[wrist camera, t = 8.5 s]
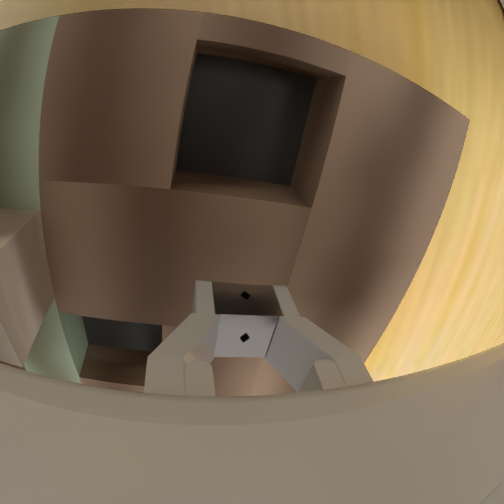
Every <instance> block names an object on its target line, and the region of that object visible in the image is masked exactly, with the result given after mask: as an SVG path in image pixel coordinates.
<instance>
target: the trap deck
mask: <svg viewBox="0 0 504 504" xmlns="http://www.w3.org/2000/svg"><path fill="white" fill-rule="evenodd" d="M468 125H469V119H468V118H466V117H465V116H464V115H462V114H461V113H460V112H458V111H457V110H456V109H454V108H453V107H451V106H450V105H448V104H447V103H445V102H444V101H442V100H441V99H439V98H438V97H436V96H435V95H433V94H432V93H430V92H428V91H427V90H425V89H424V88H422V87H420V86H419V85H417V84H415V83H413V82H412V81H410V80H408V79H406V78H405V77H403V76H401V75H399V74H397V73H395V72H393V71H391V70H390V69H388V68H386V67H384V66H382V65H380V64H377V63H375V62H373V61H371V60H369V59H367V58H365V57H362V56H360V55H358V54H356V53H353V52H351V51H348V50H346V49H344V48H341V47H339V46H336V45H333V44H331V43H328V42H325V41H323V40H320V39H317V38H314V37H311V36H308V35H305V34H302V33H298V32H295V31H292V30H288V29H285V28H281V27H277V26H274V25H270V24H266V23H261V22H257V21H252V20H248V19H243V18H237V17H232V16H226V15H220V14H213V13H205V12H197V11H186V10H173V9H111V10H98V11H88V12H80V13H73V14H66V15H60V16H55V17H50V18H45V19H40V20H36V21H32V22H28V23H24V24H20V25H17V26H13V27H10V28H7V29H3V30H0V208H7V209H29V210H41V219H42V228H43V235H44V243H45V249H46V255H47V261H48V266H49V271H50V276H51V281H52V286H53V290H54V294H55V298H54V300H53V302H52V304H51V306H50V308H49V310H48V312H47V314H46V316H45V318H44V320H43V322H42V324H41V326H40V329H39V331H38V333H37V335H36V337H35V340H34V342H33V344H32V346H31V349H30V351H29V354H28V356H27V358H26V361H25V363H24V366H23V367H20V366H16V365H13V364H9V363H6V362H3V361H0V363H2V364H5V365H8V366H11V367H14V368H18V369H21V370H25V371H28V372H32V373H36V374H39V375H43V376H48V377H52V378H56V379H61V380H65V381H70V382H75V383H80V384H86V385H91V386H97V387H104V388H110V389H117V390H125V391H134V392H143V393H144V386H145V376H146V366H147V358H148V356H149V355H150V354H151V353H152V352H153V351H154V350H155V349H156V348H157V347H158V346H159V345H160V344H161V343H162V342H163V341H164V340H165V339H166V338H167V337H168V336H169V335H170V334H171V333H172V332H173V331H174V330H175V329H176V328H177V327H178V326H179V325H180V324H181V323H182V322H183V321H184V320H185V319H186V318H187V317H188V316H189V315H190V314H191V313H192V309H193V298H194V288H195V281H196V280H204V281H211V282H212V281H216V282H228V283H239V284H251V285H285V286H287V288H288V290H289V292H290V294H291V297H292V299H293V301H294V303H295V306H296V308H297V310H298V312H299V315H300V317H306V318H307V319H308V320H310V321H311V322H313V323H314V324H315V325H317V326H318V327H320V328H321V329H323V330H324V331H325V332H327V333H328V334H330V335H331V336H333V337H334V338H335V339H337V340H338V341H340V342H341V343H343V344H344V345H345V346H347V347H348V348H350V349H351V350H353V351H354V352H356V353H357V354H358V355H359V356H360V357H361V359H362V361H363V363H364V362H365V361H366V359H367V358H368V356H369V355H370V353H371V352H372V350H373V348H374V347H375V345H376V344H377V342H378V340H379V339H380V337H381V336H382V334H383V332H384V331H385V329H386V327H387V326H388V324H389V322H390V320H391V319H392V317H393V315H394V313H395V312H396V310H397V308H398V306H399V304H400V303H401V301H402V299H403V297H404V295H405V293H406V291H407V289H408V287H409V286H410V284H411V282H412V280H413V278H414V276H415V273H416V271H417V269H418V267H419V265H420V263H421V261H422V259H423V257H424V254H425V252H426V250H427V248H428V245H429V243H430V241H431V238H432V236H433V234H434V231H435V229H436V226H437V224H438V221H439V219H440V216H441V214H442V211H443V208H444V206H445V203H446V200H447V197H448V194H449V192H450V189H451V186H452V183H453V180H454V176H455V173H456V170H457V167H458V163H459V160H460V156H461V153H462V149H463V145H464V141H465V137H466V133H467V129H468ZM265 358H266V357H214V359H213V360H212V362H211V364H210V365H212V370H213V379H214V387H215V396H257V395H275V394H289V393H297V391H296V390H295V389H294V388H293V387H292V386H291V385H290V384H289V383H288V382H287V381H286V380H285V379H284V378H283V377H282V376H281V375H280V374H279V373H278V372H277V371H276V370H275V368H274V367H273V366H272V365H271V364H270V363H269V362H268V361H267V360H266V359H265Z"/></svg>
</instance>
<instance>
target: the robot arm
mask: <svg viewBox="0 0 504 504" xmlns="http://www.w3.org/2000/svg"><path fill="white" fill-rule="evenodd" d="M500 2H501V4H502V6H503V8H504V0H500ZM214 357H266V358H265V359H266V360H267V361H268V362H269V363H270V364H271V365H272V366H273V367H274V368H275V370H276V371H277V372H278V373H279V374H280V375H281V376H282V377H283V378H284V379H285V380H286V381H287V382H288V383H289V384H290V385H291V386H292V387H293V388H294V389H295V390H296V391H297V393H289V394H275V395H257V396H215V387H214V379H213V370H212V365H210V364H211V362H212V360H213V359H214ZM0 504H504V343H503V344H501V345H498V346H496V347H493V348H491V349H488V350H486V351H483V352H480V353H477V354H475V355H472V356H469V357H466V358H463V359H460V360H457V361H454V362H451V363H448V364H444V365H441V366H437V367H434V368H430V369H427V370H423V371H419V372H415V373H411V374H407V375H403V376H399V377H394V378H390V379H385V380H380V381H375V382H373V380H372V378H371V376H370V374H369V372H368V371H367V369H366V367H365V365H364V363H363V361H362V359H361V357H360V356H359V355H358V354H357V353H356V352H354V351H353V350H351V349H350V348H348V347H347V346H345V345H344V344H343V343H341V342H340V341H338V340H337V339H335V338H334V337H333V336H331V335H330V334H328V333H327V332H325V331H324V330H323V329H321V328H320V327H318V326H317V325H315V324H314V323H313V322H311V321H310V320H308V319H307V318H306V317H300V315H299V312H298V310H297V308H296V306H295V303H294V301H293V299H292V297H291V294H290V292H289V290H288V288H287V286H285V285H251V284H239V283H228V282H216V281H212V282H211V281H204V280H196V281H195V288H194V298H193V309H192V313H191V314H190V315H189V316H188V317H187V318H186V319H185V320H184V321H183V322H182V323H181V324H180V325H179V326H178V327H177V328H176V329H175V330H174V331H173V332H172V333H171V334H170V335H169V336H168V337H167V338H166V339H165V340H164V341H163V342H162V343H161V344H160V345H159V346H158V347H157V348H156V349H155V350H154V351H153V352H152V353H151V354H150V355H149V356H148V358H147V366H146V376H145V386H144V393H143V392H134V391H125V390H117V389H110V388H104V387H97V386H91V385H86V384H80V383H75V382H70V381H65V380H61V379H56V378H52V377H48V376H43V375H39V374H36V373H32V372H28V371H25V370H21V369H18V368H14V367H11V366H8V365H5V364H2V363H0Z"/></svg>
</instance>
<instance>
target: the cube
mask: <svg viewBox="0 0 504 504" xmlns="http://www.w3.org/2000/svg"><path fill="white" fill-rule="evenodd" d="M54 298H55V294H54V290H53V286H52V281H51V276H50V271H49V266H48V261H47V255H46V249H45V243H44V235H43V228H42V219H41V210H29V209H7V208H0V361H3V362H6V363H9V364H13V365H16V366H20V367H23V366H24V363H25V361H26V358H27V356H28V354H29V351H30V349H31V346H32V344H33V342H34V340H35V337H36V335H37V333H38V331H39V329H40V326H41V324H42V322H43V320H44V318H45V316H46V314H47V312H48V310H49V308H50V306H51V304H52V302H53V300H54Z"/></svg>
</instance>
